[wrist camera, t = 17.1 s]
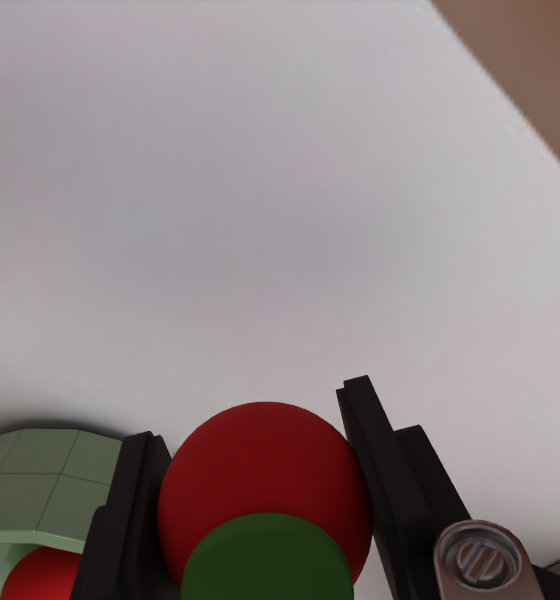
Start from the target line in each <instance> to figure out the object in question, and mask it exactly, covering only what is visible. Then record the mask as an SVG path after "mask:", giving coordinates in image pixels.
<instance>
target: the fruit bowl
mask: <svg viewBox="0 0 560 600" xmlns="http://www.w3.org/2000/svg"><path fill="white" fill-rule="evenodd" d="M121 444H122V441H119V440H116V439H112V438H108V437H105V436H101V435H97V434H93V433H90V432H86V431H82V430H80V431H79V430H78V429H23V430H22V429H21V430H17V431H13V432H9V433H5V434H1V435H0V597H1V592H2V588H3V585H4V583H5V581H6V579H7V577H8V575H9V573H10V572H11V570H12V569H13V568H14V566H15V565H16V564H17V563H18V562H19V561H20V560H21V559H22V558H23V557H24V556H26V555H27V554H28V553H30V552H32V551H33V550H35V549H37V548H39V547H42V546H48V547H52V548H57V549H61V550H66V551H71V552H75V553H80V554H82V552H83V549H84V545H85V542H86V538H87V535H88V531H89V528H90V524H91V521H92V517H93V515H94V512H95V510H96V509H97V508H98V507H99V506H102V505H105V504H106V501H107V497H108V493H109V489H110V486H111V482H112V478H113V474H114V471H115V467H116V463H117V459H118V456H119V452H120V448H121Z"/></svg>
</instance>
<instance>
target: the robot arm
mask: <svg viewBox="0 0 560 600" xmlns="http://www.w3.org/2000/svg"><path fill="white" fill-rule="evenodd" d="M336 394H337V398H338V402H339V407H340V411H341V415H342V420H343V424H344V428H345V433H346V437H347V441H348V443H349V444H350V445H351V447H352V448H353V449H354V451H355V454H356V456H357V459H358V463H359V466H360V469H361V472H362V476H363V479H364V483H365V486H366V490H367V494H368V497H369V501H370V506H371V510H372V514H373V519H374V525H373V536H374V539H375V543H376V546H377V549H378V552H379V555H380V558H381V562H382V565H383V568H384V571H385V574H386V578H387V581H388V584H389V587H390V590H391V593H392V597H393V600H560V575H558V574H555V573H553V572H551V571H548V570H546V569H543V568H541V567H538V566H536V565H533V564H531V562H530V560H529V557H528V554H527V552H526V550H525V549H524V547H523V545H522V543H521V542H520V540H519V539H518V538H517V537H516V536H514V535H513V534H512V533H511V532H510V531H509V530H507V529H505V528H503V527H502V526H500V525H498V524H496V523H492V522H488V521H484V520H472V519H471V517H470V515H469V513H468V511H467V509H466V507H465V506H464V504H463V502H462V500H461V498H460V496H459V494H458V493H457V491H456V489H455V487H454V485H453V483H452V482H451V480H450V478H449V476H448V474H447V472H446V470H445V469H444V467H443V465H442V463H441V461H440V459H439V458H438V456H437V454H436V452H435V450H434V448H433V446H432V445H431V443H430V441H429V439H428V437H427V435H426V434H425V432H424V430H423V429H422V427H421V426H420V425H415V426H412V427H408V428H404V429H400V430H396V431H393V429H392V427H391V425H390V422H389V420H388V418H387V416H386V414H385V411H384V409H383V407H382V405H381V403H380V401H379V398H378V396H377V394H376V392H375V390H374V387H373V385H372V383H371V381H370V379H369V377H368V375H365V376H361V377H357V378H353V379H349V380H345V381H344V388H341V389H337V390H336ZM171 461H172V459H171V456H170V454H169V452H168V449H167V447H166V445H165V442H164V440H163V438H162V436H161V435H157V436H154V435H153V434H152V432H151V431H146V432H143V433H139V434H135V435H131V436H127V437H125V438H124V439H123V441H122V444H121V448H120V452H119V456H118V459H117V463H116V467H115V471H114V474H113V478H112V482H111V486H110V489H109V493H108V497H107V501H106V504H105V505H102V506H99V507H98V508H97V509H96V510H95V512H94V515H93V517H92V521H91V524H90V528H89V531H88V535H87V538H86V542H85V545H84V549H83V552H82V556H81V559H80V563H79V566H78V569H77V573H76V576H75V580H74V583H73V587H72V590H71V594H70V597H69V600H180V591H179V590H178V588H177V587H176V585H175V583H174V582H173V580H172V578H171V576H170V574H169V572H168V570H167V568H166V565H165V563H164V560H163V557H162V553H161V549H160V544H159V540H158V532H157V507H158V499H159V494H160V490H161V486H162V482H163V479H164V477H165V474H166V472H167V469H168V467H169V465H170V462H171Z"/></svg>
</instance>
